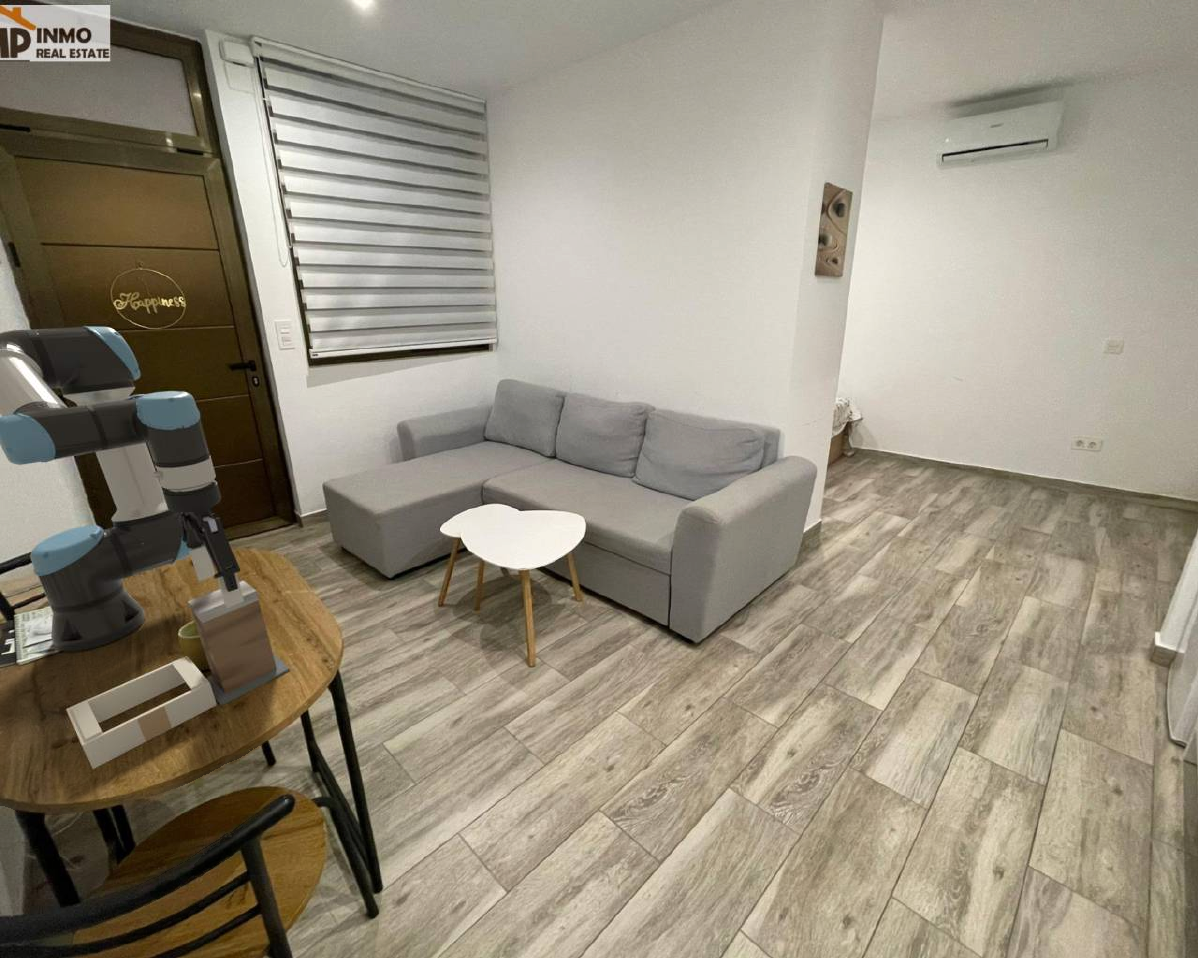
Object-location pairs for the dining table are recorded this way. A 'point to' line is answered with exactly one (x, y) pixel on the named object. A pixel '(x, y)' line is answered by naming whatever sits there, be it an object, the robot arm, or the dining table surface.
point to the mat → (228, 697)
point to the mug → (192, 646)
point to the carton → (146, 724)
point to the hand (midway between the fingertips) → (220, 590)
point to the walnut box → (233, 638)
